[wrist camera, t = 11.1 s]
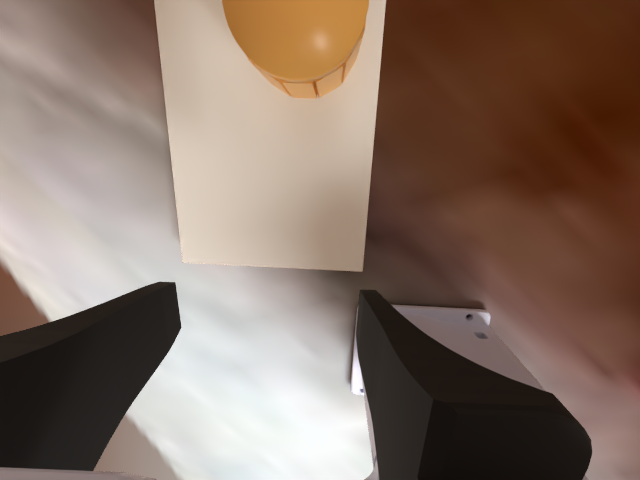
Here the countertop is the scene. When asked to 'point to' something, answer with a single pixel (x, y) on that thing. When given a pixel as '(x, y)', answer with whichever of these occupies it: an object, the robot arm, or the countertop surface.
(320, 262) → the mounting plate
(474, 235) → the countertop surface
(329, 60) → the cupcake
